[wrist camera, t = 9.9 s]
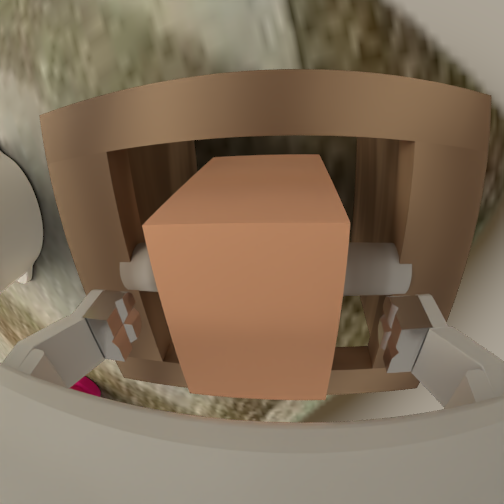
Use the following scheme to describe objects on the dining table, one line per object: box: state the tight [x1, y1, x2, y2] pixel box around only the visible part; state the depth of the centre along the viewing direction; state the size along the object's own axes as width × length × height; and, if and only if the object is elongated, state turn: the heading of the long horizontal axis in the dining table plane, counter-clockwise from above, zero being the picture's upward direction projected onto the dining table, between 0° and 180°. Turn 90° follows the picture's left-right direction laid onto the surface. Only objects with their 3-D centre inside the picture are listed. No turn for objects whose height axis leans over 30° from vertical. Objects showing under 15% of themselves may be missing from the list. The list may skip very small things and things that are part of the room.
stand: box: [40, 69, 491, 395], centre depth 17 cm, size 16×14×14 cm
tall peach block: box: [142, 154, 350, 400], centre depth 12 cm, size 5×7×8 cm
